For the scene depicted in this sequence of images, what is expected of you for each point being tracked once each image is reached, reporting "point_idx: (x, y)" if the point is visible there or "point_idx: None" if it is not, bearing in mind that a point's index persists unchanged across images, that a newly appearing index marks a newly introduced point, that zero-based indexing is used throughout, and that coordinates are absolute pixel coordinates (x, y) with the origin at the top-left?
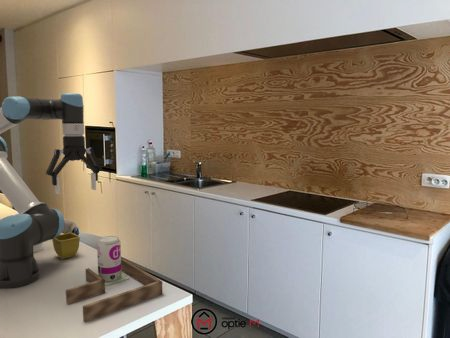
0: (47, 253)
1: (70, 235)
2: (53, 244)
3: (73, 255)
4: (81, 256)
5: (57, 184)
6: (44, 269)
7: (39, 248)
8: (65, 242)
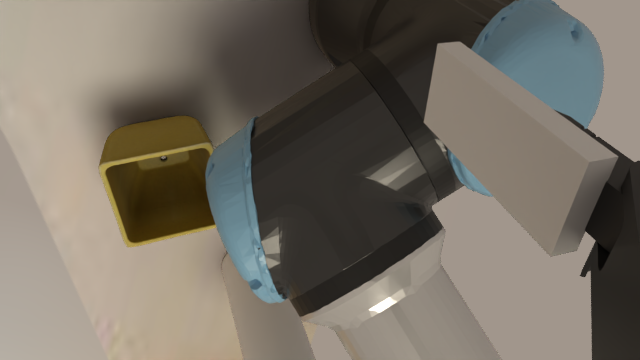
0: None
1: (132, 233)
2: None
3: (133, 124)
4: (96, 108)
5: (533, 96)
6: (277, 44)
7: None
8: (181, 142)
